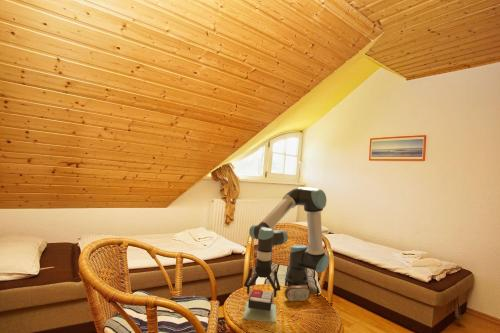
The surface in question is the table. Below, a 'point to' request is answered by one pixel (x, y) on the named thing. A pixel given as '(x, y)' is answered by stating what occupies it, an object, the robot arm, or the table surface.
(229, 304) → the table surface
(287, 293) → the tin
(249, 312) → the mat
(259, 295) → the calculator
